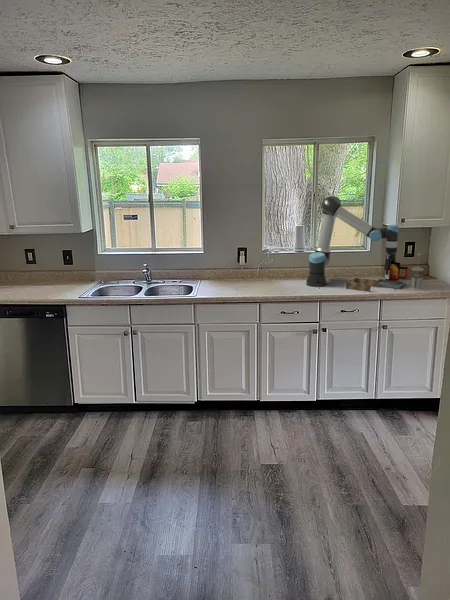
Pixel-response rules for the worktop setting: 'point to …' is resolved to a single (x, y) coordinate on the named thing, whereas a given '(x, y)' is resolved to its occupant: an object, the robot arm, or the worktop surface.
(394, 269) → the mug
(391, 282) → the tray
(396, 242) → the robot arm
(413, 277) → the french press
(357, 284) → the wooden frame
